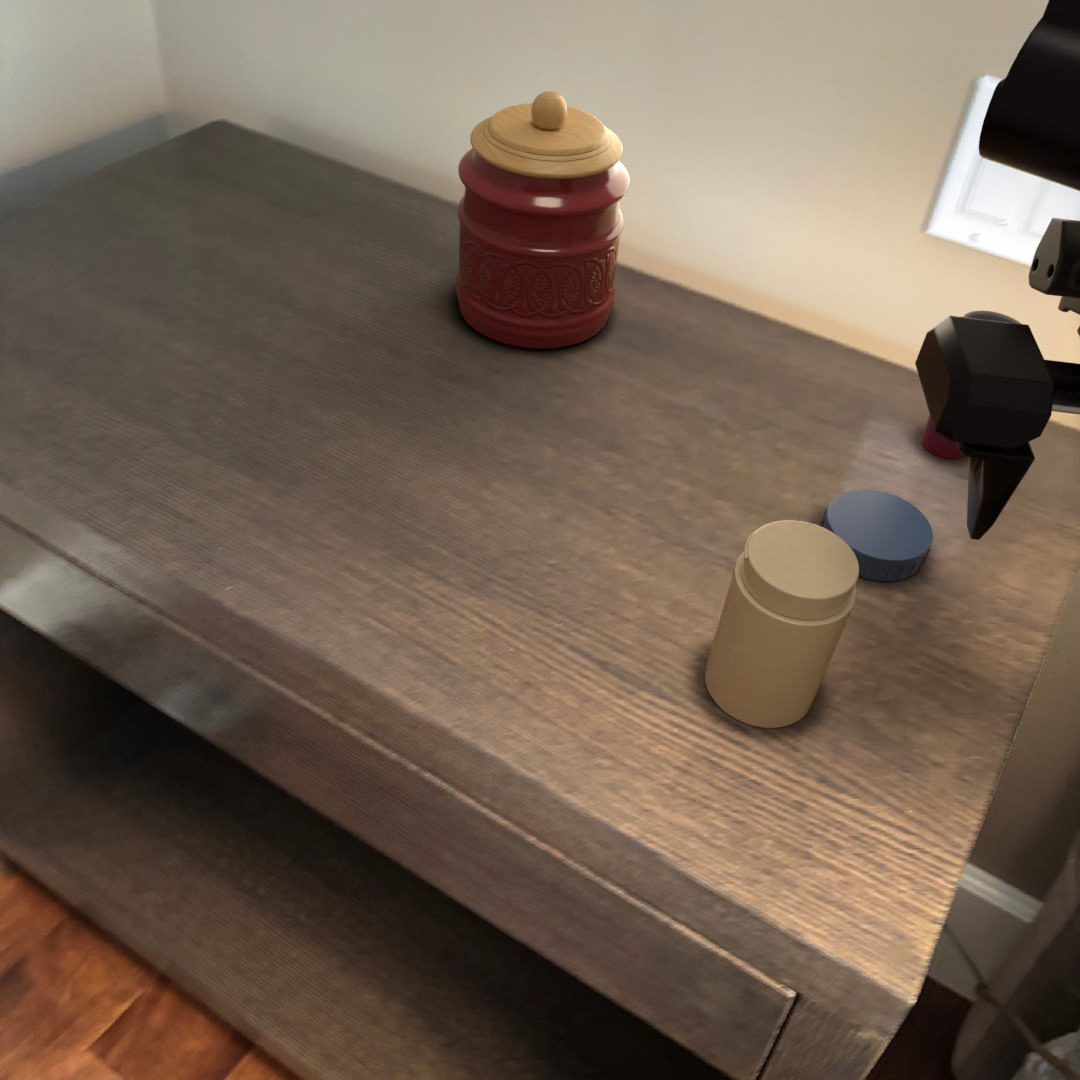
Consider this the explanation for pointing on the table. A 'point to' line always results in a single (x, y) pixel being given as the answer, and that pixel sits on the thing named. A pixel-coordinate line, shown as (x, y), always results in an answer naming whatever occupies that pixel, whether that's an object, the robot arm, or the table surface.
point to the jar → (781, 622)
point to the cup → (930, 437)
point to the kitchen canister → (540, 224)
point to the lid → (880, 532)
